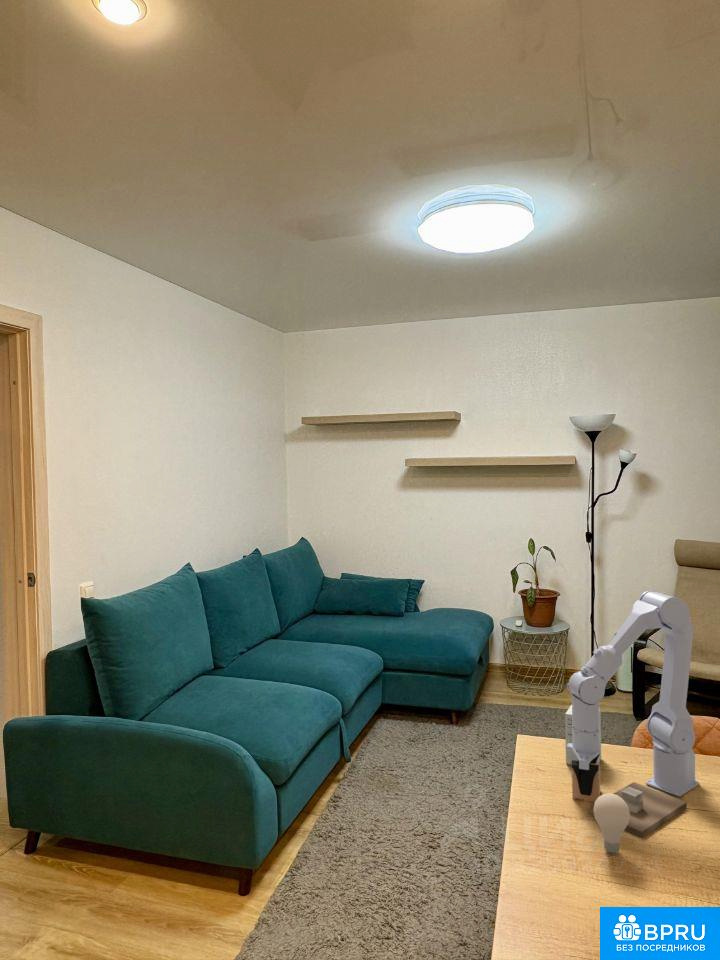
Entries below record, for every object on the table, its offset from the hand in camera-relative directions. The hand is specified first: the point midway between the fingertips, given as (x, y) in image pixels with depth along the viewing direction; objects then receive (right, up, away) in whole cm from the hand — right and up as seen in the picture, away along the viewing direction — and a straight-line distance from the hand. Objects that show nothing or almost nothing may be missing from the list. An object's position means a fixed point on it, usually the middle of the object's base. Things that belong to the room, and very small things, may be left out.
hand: (586, 788), depth 150 cm
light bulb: (-3, -2, -22) cm, 23 cm away
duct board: (+8, -1, -7) cm, 11 cm away
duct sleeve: (0, -1, 0) cm, 1 cm away
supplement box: (+5, -1, +17) cm, 17 cm away
